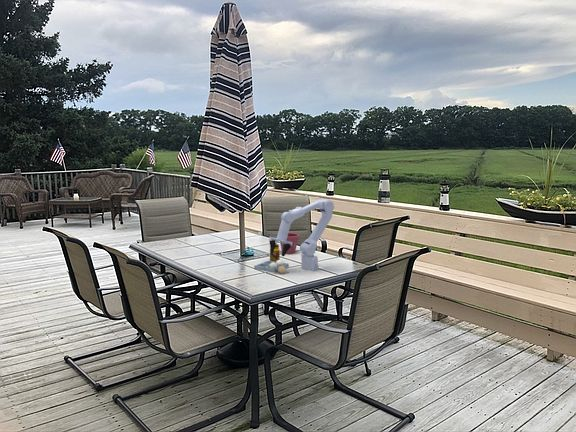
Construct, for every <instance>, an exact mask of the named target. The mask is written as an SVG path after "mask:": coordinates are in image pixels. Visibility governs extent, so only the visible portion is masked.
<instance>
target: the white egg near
mask: <svg viewBox="0 0 576 432" xmlns="http://www.w3.org/2000/svg"><path fill="white" fill-rule="evenodd" d="M283 263H284V261H283V260H282V259H280V260H278V261H276V264H277V265H278V266H282V265H283Z"/></svg>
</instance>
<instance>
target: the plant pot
mask: <svg viewBox="0 0 576 432" xmlns="http://www.w3.org/2000/svg"><path fill="white" fill-rule="evenodd" d="M299 235H300V234H298V233H296V232H295V233H294V232H288V236H287V239H286V241H290V242H293V243H292V246H291V245H290V246H291V247H290V248H289V249H288V251H287V252H286V254H285V255H292V254H295V253H296V251H297V245H298V241H299V240H300V236H299ZM279 242H281V241H279ZM283 243H284V242H283ZM283 243H280V244H279V246H280V248H281V252H282V251H283V245H284V244H283Z"/></svg>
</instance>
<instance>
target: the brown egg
mask: <svg viewBox="0 0 576 432" xmlns="http://www.w3.org/2000/svg"><path fill="white" fill-rule="evenodd" d="M277 273H278V274H280V275H281V274H285V273H287V268H285V267H284V266H280V267H279V268H278V272H277Z"/></svg>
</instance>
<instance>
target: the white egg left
mask: <svg viewBox="0 0 576 432" xmlns="http://www.w3.org/2000/svg"><path fill="white" fill-rule="evenodd" d="M269 267H270V268H274V269H275V268H277V264H276V263H274V262H272V263H271V264H270V265H269Z"/></svg>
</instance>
